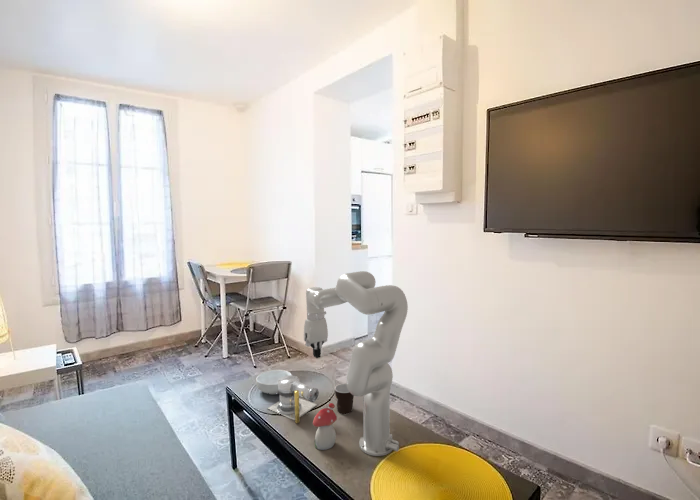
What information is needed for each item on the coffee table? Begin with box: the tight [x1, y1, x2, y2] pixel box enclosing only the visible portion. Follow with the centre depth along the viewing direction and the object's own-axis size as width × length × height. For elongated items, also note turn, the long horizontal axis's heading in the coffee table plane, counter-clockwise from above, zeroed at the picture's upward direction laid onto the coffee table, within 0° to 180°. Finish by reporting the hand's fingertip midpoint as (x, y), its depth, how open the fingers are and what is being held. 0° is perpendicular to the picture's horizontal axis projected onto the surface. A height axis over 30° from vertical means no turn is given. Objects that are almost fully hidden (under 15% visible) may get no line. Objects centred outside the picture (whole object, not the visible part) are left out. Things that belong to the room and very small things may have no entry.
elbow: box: [277, 374, 320, 403], centre depth 154 cm, size 20×9×6 cm, turn 52°
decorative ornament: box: [312, 402, 338, 451], centre depth 133 cm, size 9×6×15 cm
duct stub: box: [267, 390, 318, 424], centre depth 158 cm, size 16×19×14 cm
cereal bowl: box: [255, 369, 292, 395], centre depth 176 cm, size 17×17×7 cm
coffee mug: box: [334, 382, 355, 415], centre depth 159 cm, size 12×9×10 cm
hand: (317, 356), depth 160 cm, fingers closed
